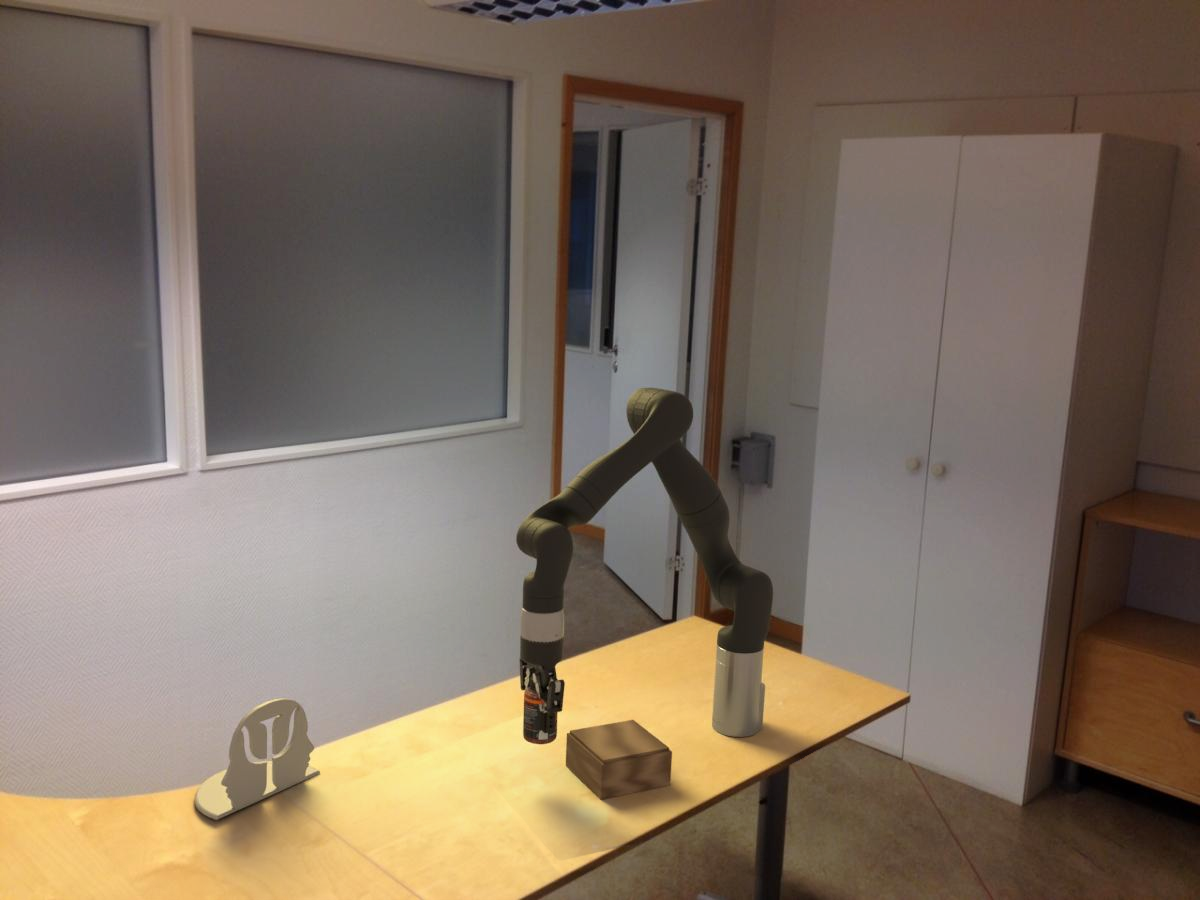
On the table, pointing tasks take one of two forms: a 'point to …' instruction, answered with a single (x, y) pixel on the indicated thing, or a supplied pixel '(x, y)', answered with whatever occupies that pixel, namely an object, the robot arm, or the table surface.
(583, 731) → the walnut block
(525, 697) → the supplement bottle
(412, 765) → the table surface
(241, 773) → the ornament
